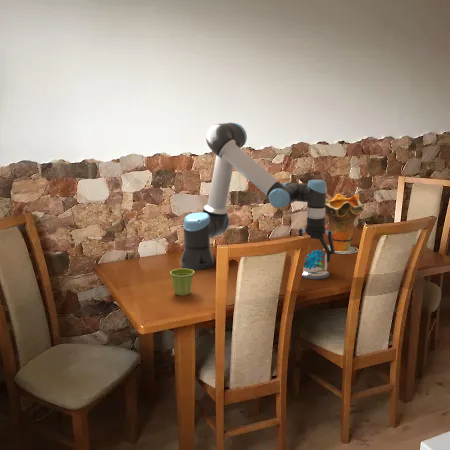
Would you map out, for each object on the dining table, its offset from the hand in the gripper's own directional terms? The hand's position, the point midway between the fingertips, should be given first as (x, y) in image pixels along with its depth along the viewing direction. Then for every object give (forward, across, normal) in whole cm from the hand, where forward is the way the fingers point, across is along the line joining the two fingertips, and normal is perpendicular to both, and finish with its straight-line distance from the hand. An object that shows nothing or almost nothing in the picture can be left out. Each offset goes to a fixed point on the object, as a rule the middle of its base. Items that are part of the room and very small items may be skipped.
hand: (313, 267), depth 223 cm
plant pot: (+3, +45, +38) cm, 59 cm away
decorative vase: (+3, -6, -44) cm, 45 cm away
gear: (0, 0, 0) cm, 1 cm away
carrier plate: (+3, 0, 0) cm, 3 cm away
